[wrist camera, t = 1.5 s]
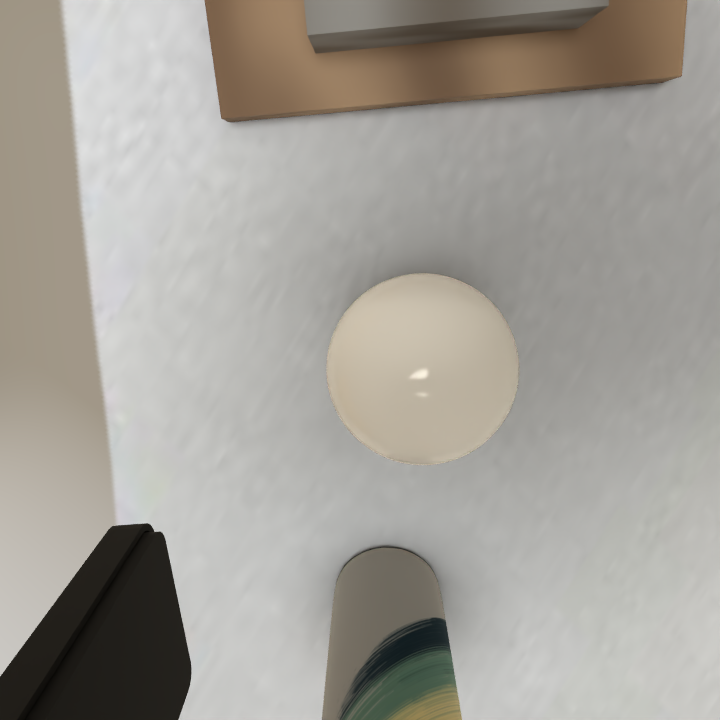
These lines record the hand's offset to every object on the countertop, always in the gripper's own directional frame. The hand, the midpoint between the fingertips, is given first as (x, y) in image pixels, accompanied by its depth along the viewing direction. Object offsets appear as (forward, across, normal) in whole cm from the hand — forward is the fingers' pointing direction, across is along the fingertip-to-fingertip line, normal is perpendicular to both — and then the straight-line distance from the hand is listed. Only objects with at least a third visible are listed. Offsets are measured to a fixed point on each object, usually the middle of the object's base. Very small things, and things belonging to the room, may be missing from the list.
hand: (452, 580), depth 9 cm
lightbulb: (+19, -1, 0) cm, 19 cm away
